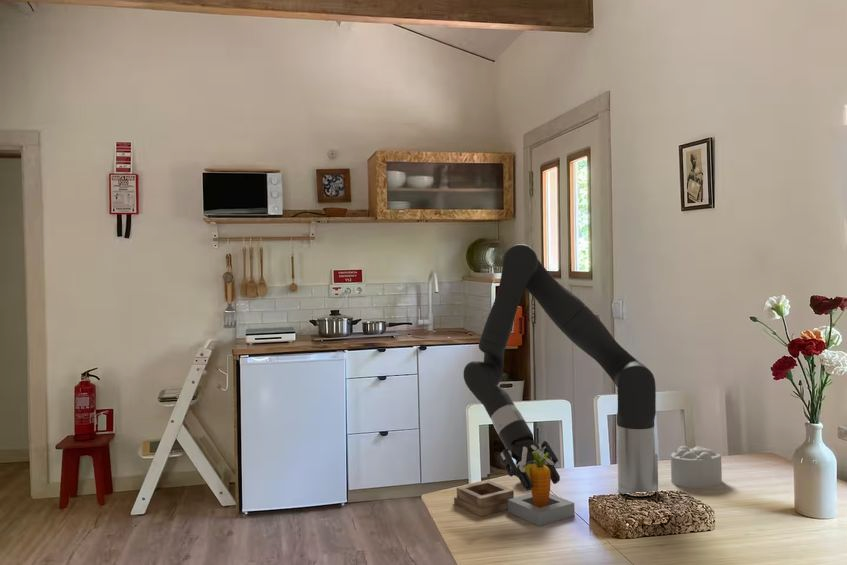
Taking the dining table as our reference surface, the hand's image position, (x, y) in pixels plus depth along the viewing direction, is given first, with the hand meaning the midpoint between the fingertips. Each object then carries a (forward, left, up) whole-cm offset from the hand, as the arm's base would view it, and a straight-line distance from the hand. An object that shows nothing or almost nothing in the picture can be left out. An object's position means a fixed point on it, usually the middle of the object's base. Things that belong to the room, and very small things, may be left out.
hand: (544, 485), depth 158 cm
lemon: (-13, -21, -7) cm, 26 cm away
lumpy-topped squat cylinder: (-49, +5, -7) cm, 50 cm away
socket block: (0, -1, -7) cm, 7 cm away
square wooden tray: (+7, -14, -7) cm, 17 cm away
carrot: (0, -1, -7) cm, 8 cm away
